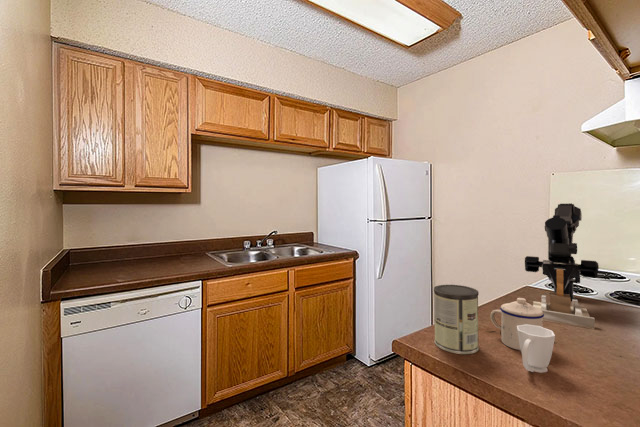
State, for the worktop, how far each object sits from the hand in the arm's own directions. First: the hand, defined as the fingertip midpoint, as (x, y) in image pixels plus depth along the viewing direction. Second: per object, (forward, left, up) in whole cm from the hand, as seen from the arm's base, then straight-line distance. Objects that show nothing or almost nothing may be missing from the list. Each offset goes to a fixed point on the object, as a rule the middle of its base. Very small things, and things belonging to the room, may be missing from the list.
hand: (560, 288), depth 95 cm
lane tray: (+2, 0, -9) cm, 9 cm away
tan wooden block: (-1, 0, -7) cm, 8 cm away
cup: (+43, -6, -9) cm, 44 cm away
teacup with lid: (+30, -10, -9) cm, 33 cm away
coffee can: (+40, -22, -9) cm, 46 cm away
